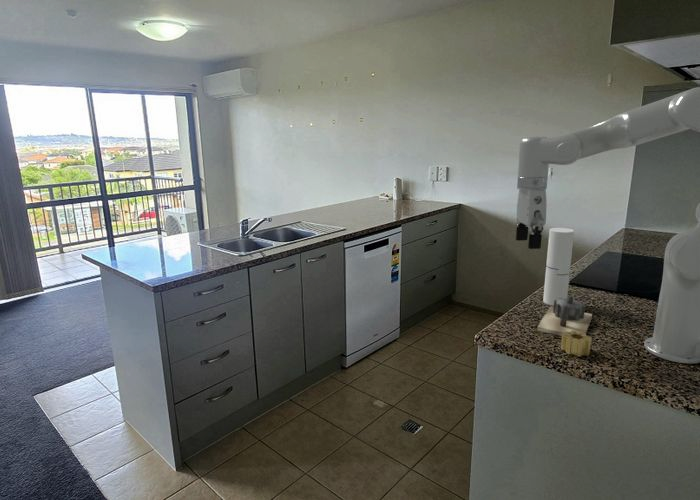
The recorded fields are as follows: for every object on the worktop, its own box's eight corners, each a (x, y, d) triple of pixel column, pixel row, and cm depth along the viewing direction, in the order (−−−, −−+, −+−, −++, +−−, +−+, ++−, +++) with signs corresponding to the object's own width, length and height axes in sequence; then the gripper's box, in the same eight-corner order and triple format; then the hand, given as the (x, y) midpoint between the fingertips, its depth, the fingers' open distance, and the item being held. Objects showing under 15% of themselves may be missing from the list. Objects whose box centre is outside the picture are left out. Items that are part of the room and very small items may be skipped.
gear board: (591, 317, 131) (594, 295, 129) (583, 340, 117) (586, 316, 115) (549, 309, 138) (551, 289, 136) (537, 330, 124) (539, 307, 122)
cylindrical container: (546, 296, 149) (553, 226, 143) (568, 301, 145) (576, 229, 138) (540, 303, 144) (546, 230, 137) (563, 307, 139) (571, 233, 133)
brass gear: (591, 348, 113) (592, 334, 112) (587, 358, 108) (589, 344, 107) (563, 342, 117) (565, 328, 116) (559, 352, 111) (560, 338, 110)
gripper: (560, 186, 108) (554, 251, 112) (533, 180, 124) (529, 237, 129) (529, 187, 108) (525, 252, 112) (507, 180, 125) (504, 237, 129)
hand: (527, 244), depth 120 cm, fingers open, 9 cm apart
